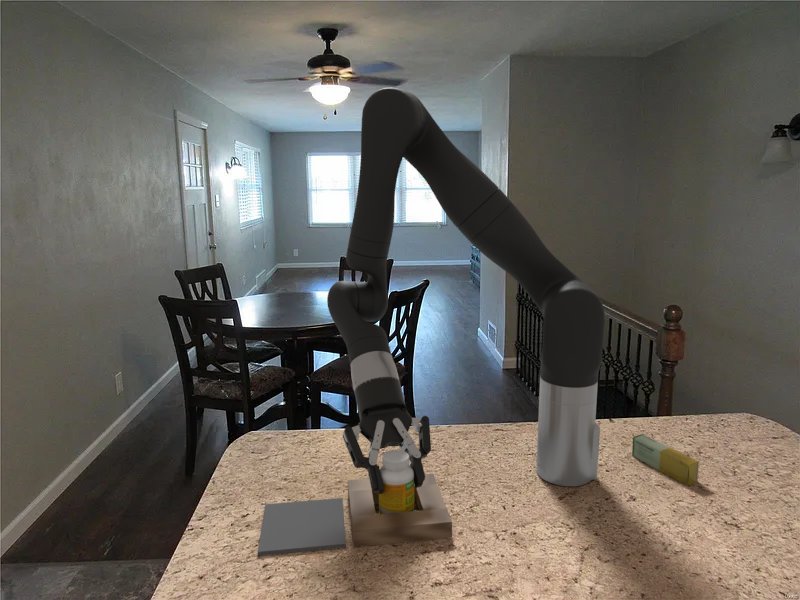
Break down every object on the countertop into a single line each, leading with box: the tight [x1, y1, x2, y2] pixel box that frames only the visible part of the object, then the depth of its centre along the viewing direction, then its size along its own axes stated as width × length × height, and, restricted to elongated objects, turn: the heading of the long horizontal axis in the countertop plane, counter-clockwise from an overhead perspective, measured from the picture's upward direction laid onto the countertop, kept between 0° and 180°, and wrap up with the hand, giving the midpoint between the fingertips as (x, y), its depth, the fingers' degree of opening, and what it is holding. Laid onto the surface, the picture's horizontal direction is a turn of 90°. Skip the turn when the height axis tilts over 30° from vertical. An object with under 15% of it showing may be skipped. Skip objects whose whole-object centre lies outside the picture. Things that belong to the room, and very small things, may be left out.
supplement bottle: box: [378, 449, 415, 514], centre depth 89 cm, size 5×5×10 cm
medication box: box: [631, 434, 700, 486], centre depth 103 cm, size 12×3×4 cm, turn 26°
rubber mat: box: [257, 497, 347, 557], centre depth 87 cm, size 12×12×1 cm
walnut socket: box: [347, 473, 453, 548], centre depth 90 cm, size 14×14×2 cm
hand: (400, 488), depth 87 cm, fingers closed on supplement bottle, 5 cm apart
